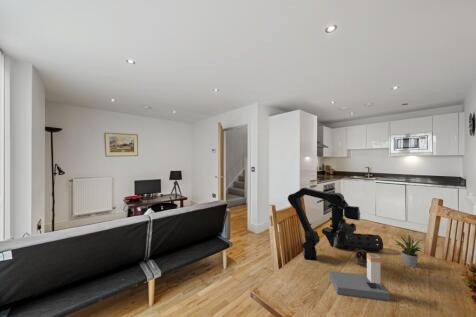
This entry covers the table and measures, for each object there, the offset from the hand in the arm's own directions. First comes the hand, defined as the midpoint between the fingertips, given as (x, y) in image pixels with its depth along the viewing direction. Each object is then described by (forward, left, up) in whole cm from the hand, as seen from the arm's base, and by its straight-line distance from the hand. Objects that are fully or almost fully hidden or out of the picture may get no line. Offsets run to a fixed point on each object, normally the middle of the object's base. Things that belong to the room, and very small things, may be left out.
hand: (337, 245), depth 101 cm
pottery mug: (+16, +8, -12) cm, 21 cm away
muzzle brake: (+19, +25, -12) cm, 34 cm away
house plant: (+42, +11, -12) cm, 45 cm away
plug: (+9, -18, -7) cm, 21 cm away
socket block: (+3, -16, -12) cm, 20 cm away
